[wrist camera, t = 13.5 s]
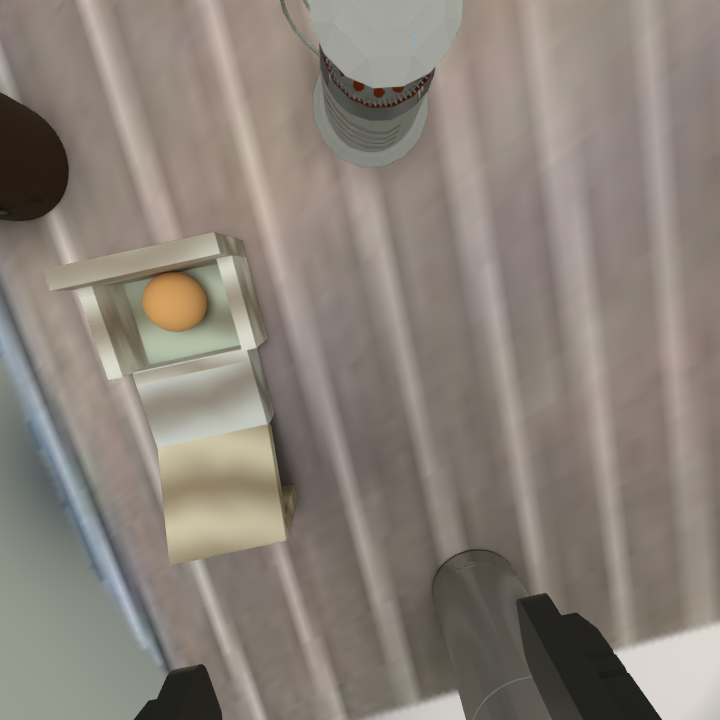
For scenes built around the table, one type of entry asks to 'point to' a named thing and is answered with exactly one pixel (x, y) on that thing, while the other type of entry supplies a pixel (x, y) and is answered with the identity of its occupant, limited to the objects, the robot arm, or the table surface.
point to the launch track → (194, 390)
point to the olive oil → (28, 163)
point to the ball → (174, 301)
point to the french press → (376, 72)
